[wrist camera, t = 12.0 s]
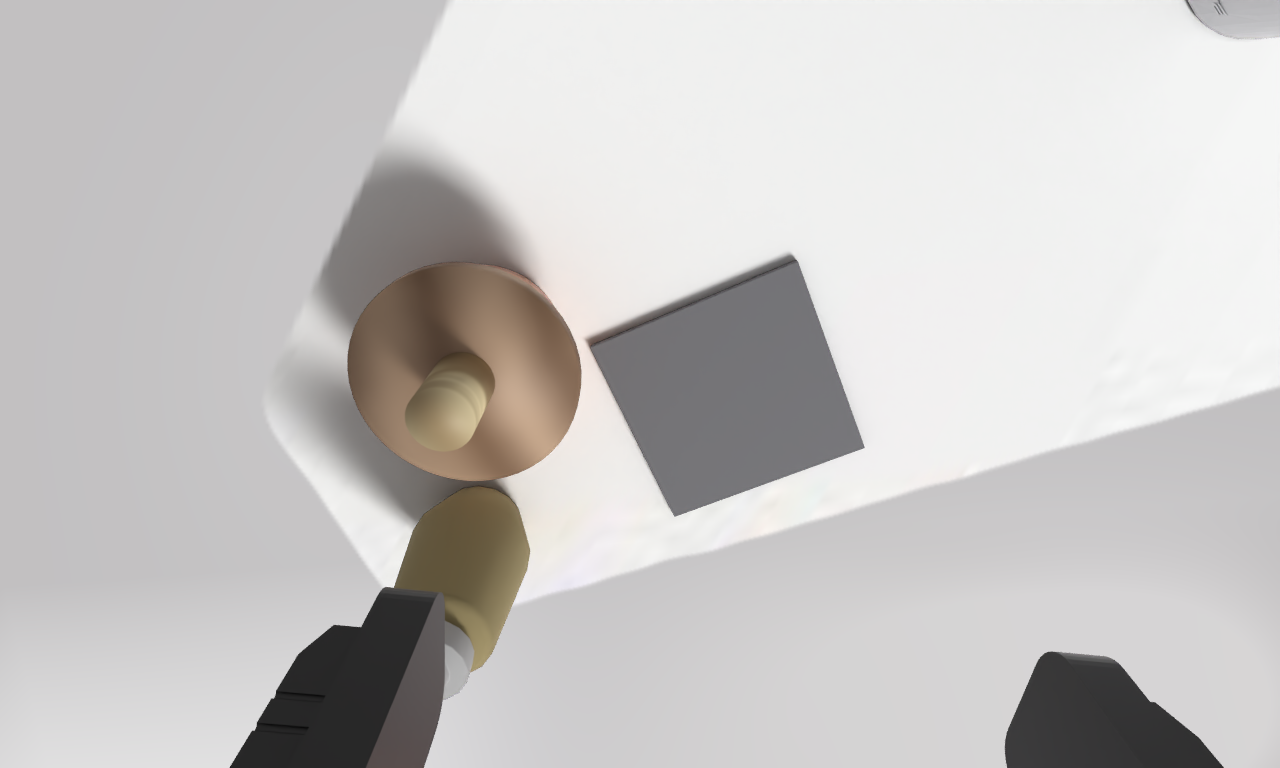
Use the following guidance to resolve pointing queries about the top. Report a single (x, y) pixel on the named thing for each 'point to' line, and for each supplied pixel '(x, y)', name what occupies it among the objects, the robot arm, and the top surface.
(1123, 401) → the top surface
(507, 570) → the squeeze bottle
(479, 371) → the lid
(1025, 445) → the top surface
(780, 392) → the mat
